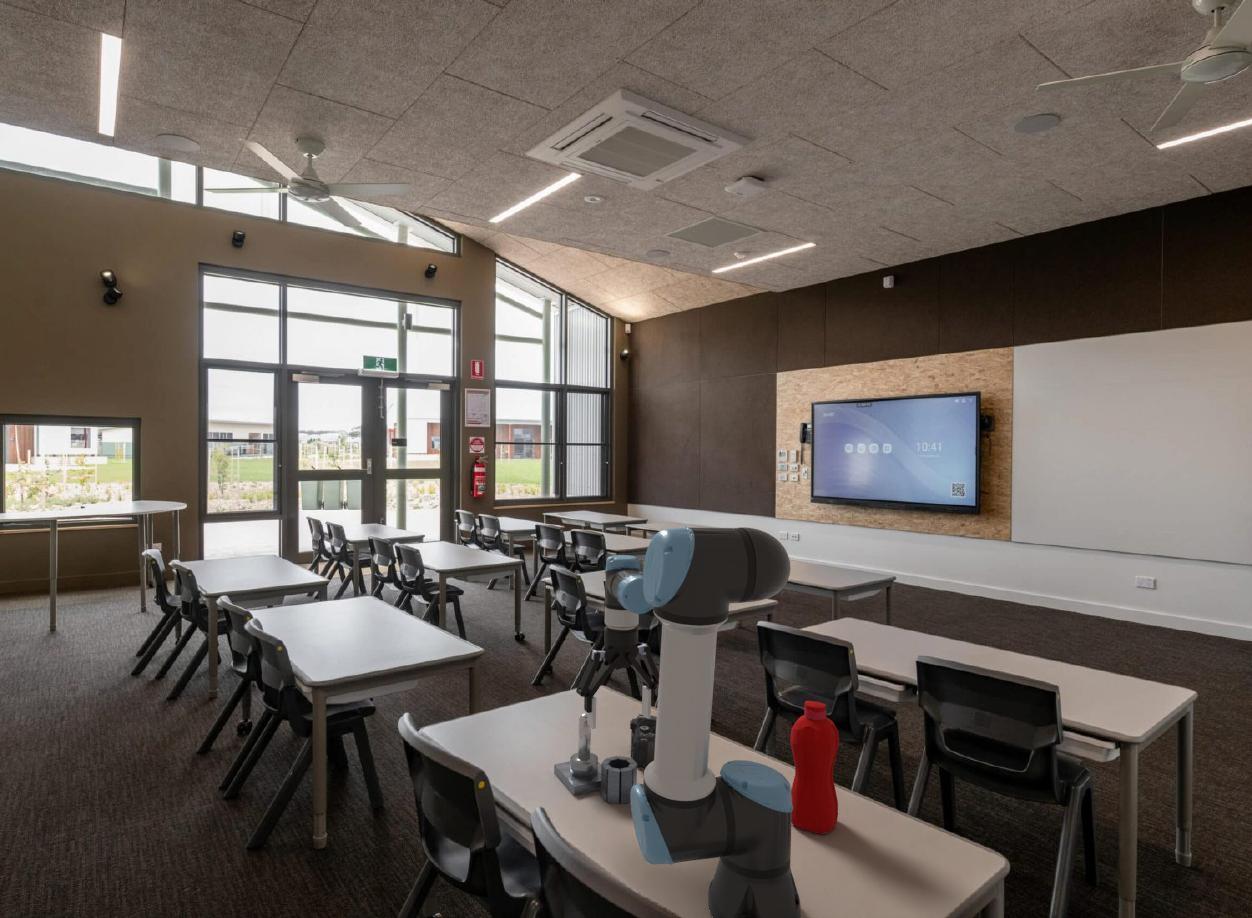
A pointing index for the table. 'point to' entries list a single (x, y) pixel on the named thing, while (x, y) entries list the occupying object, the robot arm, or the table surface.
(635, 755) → the camera
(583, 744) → the shaft block
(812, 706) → the water bottle
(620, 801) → the hub
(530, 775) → the table surface
